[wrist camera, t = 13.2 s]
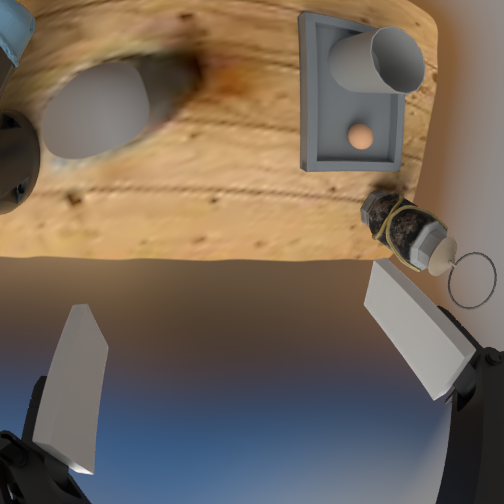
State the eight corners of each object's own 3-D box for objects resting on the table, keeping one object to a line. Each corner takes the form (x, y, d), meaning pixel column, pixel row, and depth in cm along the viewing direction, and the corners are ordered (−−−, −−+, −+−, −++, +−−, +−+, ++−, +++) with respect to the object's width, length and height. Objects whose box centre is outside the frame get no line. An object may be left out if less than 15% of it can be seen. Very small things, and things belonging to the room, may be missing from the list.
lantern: (376, 239, 46) (475, 332, 24) (346, 220, 43) (457, 322, 21) (402, 198, 43) (515, 274, 21) (374, 174, 40) (505, 250, 18)
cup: (376, 45, 29) (423, 37, 20) (378, 95, 33) (426, 99, 24) (325, 34, 27) (367, 18, 19) (328, 89, 31) (371, 87, 23)
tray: (299, 168, 37) (306, 172, 35) (297, 16, 26) (304, 11, 24) (390, 168, 40) (399, 172, 38) (393, 38, 29) (402, 37, 27)
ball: (342, 146, 36) (355, 150, 33) (343, 121, 34) (357, 124, 31) (363, 147, 36) (377, 152, 33) (364, 123, 35) (379, 126, 32)
